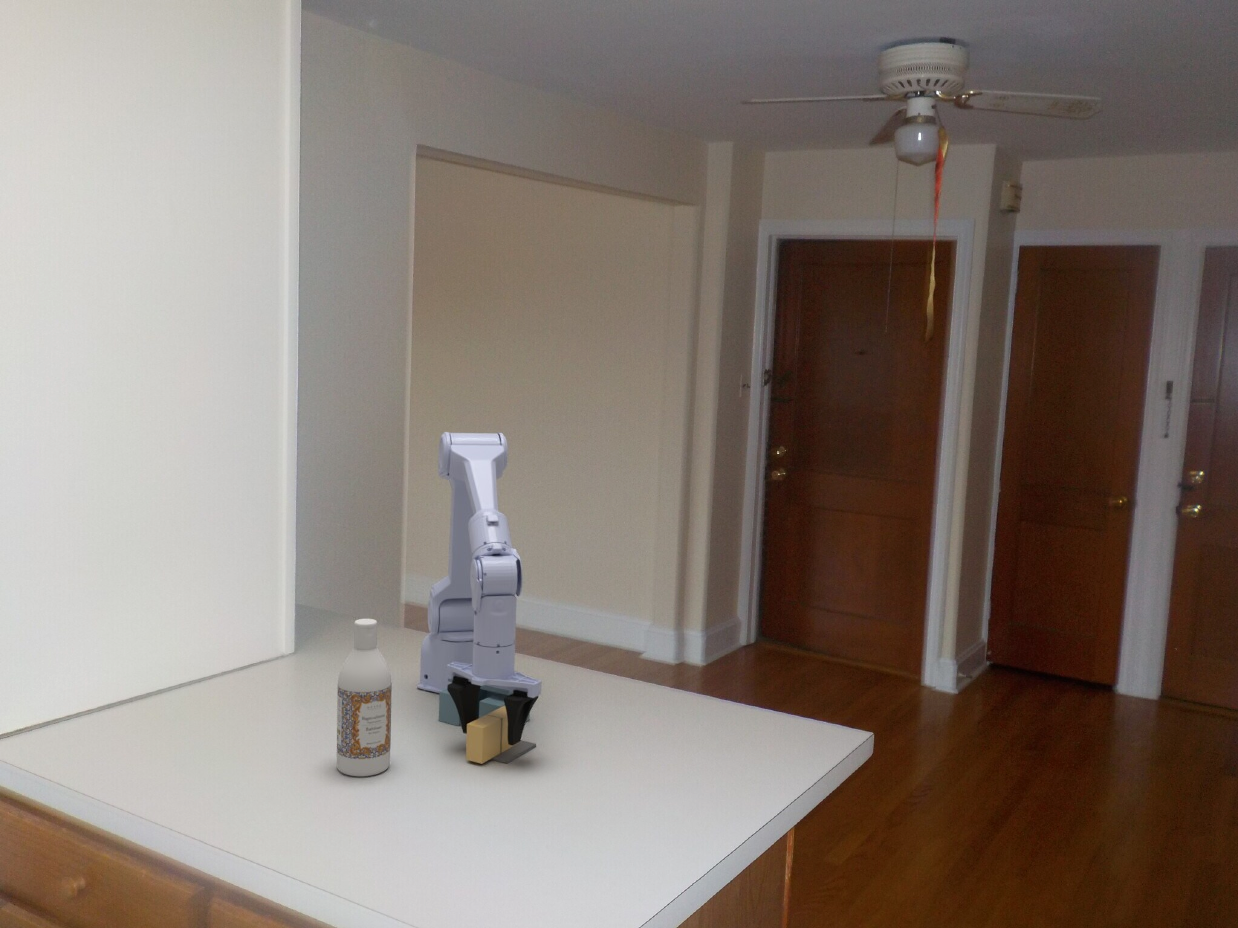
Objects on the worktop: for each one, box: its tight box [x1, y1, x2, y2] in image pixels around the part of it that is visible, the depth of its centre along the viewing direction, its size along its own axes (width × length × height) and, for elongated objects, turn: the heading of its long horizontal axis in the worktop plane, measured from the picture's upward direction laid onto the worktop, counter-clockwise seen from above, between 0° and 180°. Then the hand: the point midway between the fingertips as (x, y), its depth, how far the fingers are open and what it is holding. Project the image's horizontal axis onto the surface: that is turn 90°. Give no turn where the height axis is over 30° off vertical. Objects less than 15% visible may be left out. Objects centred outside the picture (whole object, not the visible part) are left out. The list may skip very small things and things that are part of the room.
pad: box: [490, 739, 537, 764], centre depth 153 cm, size 6×7×1 cm
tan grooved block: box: [465, 706, 519, 764], centre depth 151 cm, size 3×9×5 cm, turn 152°
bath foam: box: [336, 618, 393, 777], centre depth 144 cm, size 7×7×20 cm
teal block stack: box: [438, 679, 531, 727], centre depth 164 cm, size 11×8×6 cm
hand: (491, 736), depth 151 cm, fingers open, 7 cm apart
